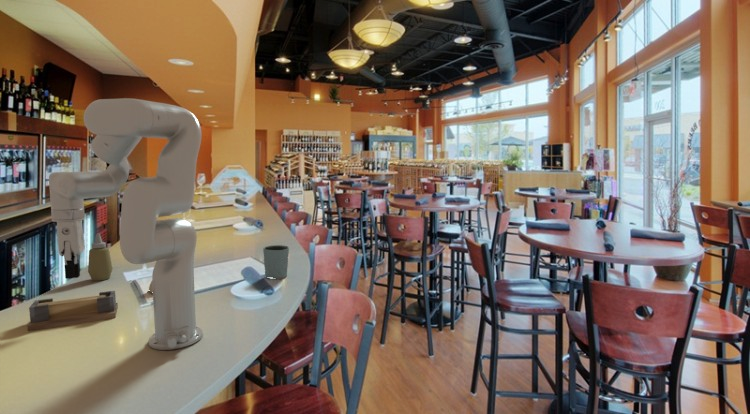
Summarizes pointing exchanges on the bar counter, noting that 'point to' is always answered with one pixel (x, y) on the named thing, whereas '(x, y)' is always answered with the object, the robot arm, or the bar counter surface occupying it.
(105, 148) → the robot arm
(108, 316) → the cradle board
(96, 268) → the squeeze bottle
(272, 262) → the grey green cup
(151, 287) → the decorative ornament
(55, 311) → the oak slat
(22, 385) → the bar counter surface
